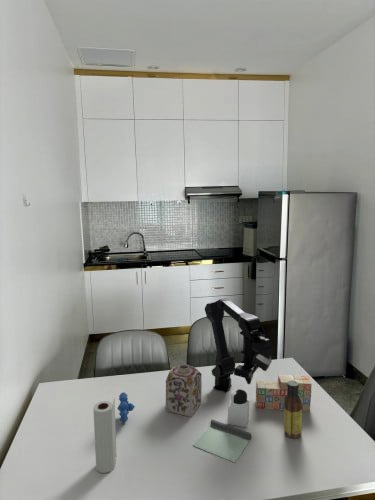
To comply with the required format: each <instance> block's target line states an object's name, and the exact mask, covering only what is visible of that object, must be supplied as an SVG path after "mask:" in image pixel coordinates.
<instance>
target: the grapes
mask: <svg viewBox="0 0 375 500" xmlns="http://www.w3.org/2000/svg"><path fill="white" fill-rule="evenodd" d="M118 397H119V398H118V400H119V401H120V402H119V404H118V406H117V410H118V411H119V413H118V415H119V416H120V417H119V419H118V420H119V421H120V422H121V423H122V424H125V423H126V422H127V421H128V420H129V417H128V414H129V413H130V412H131V411H133V410H134V409H135V407H136V405H134V404H133V403H131V402H129V401H128V399H129V398H128V394H127V393H126V392H121V393H120V395H118Z"/></svg>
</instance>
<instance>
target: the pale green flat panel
mask: <svg viewBox="0 0 375 500" xmlns="http://www.w3.org/2000/svg"><path fill="white" fill-rule="evenodd" d="M249 442H250V440H248V439H247V440H246V439H245V438H243V437H240V436H237V435H235V434H234V435H233V434H232V433H229V432H226V431H224V430H223V431H222V430H221V429H220V430H219V429H218V428H215V427H213V426H208V427H207V428H206V429H205V430H204V431H203V433H201V435H200V436H199V438H198V439H197V440H196V441H195V442H194V443H193V445H192V446H193V447H195V448H196V449H199V450H203V451H204V452H207V453H210V454H211V455H214V456H217V457H219V458H220V459H225V461H229V462H232V463H234V464H236V463H237V461H238V460H239V458H240V456H241V455H242V453H243V452H244V450H245V449H246V447H247V446H248V444H249Z"/></svg>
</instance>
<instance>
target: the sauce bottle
mask: <svg viewBox="0 0 375 500" xmlns="http://www.w3.org/2000/svg"><path fill="white" fill-rule="evenodd" d="M287 387H288V392H287V393H288V394H287V395H286V397H285V399H284V410H283V417H284V418H283V419H284V420H283V430H284V433H285V435H286V436H287V437H289V438H290V439H291V438H292V439H298V438H300V437H302V431H303V411H302V406H301V404H302V402H301V400H300V398H299V395H298V388H299V383H298V382H296V381H288V382H287Z"/></svg>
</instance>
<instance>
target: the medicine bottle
mask: <svg viewBox="0 0 375 500" xmlns="http://www.w3.org/2000/svg"><path fill="white" fill-rule="evenodd" d="M230 395H231V396H230V401H229V404H228V406H227V425H230V426H235V425H236V426H237V427H240V428H245V429H246V428H247V426H248V425H247V424H248V421H249V418H250V400H248V393H247V392H246V391H245V390H244V389H239V388H237V389H233V390H232V391H231V393H230Z"/></svg>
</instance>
